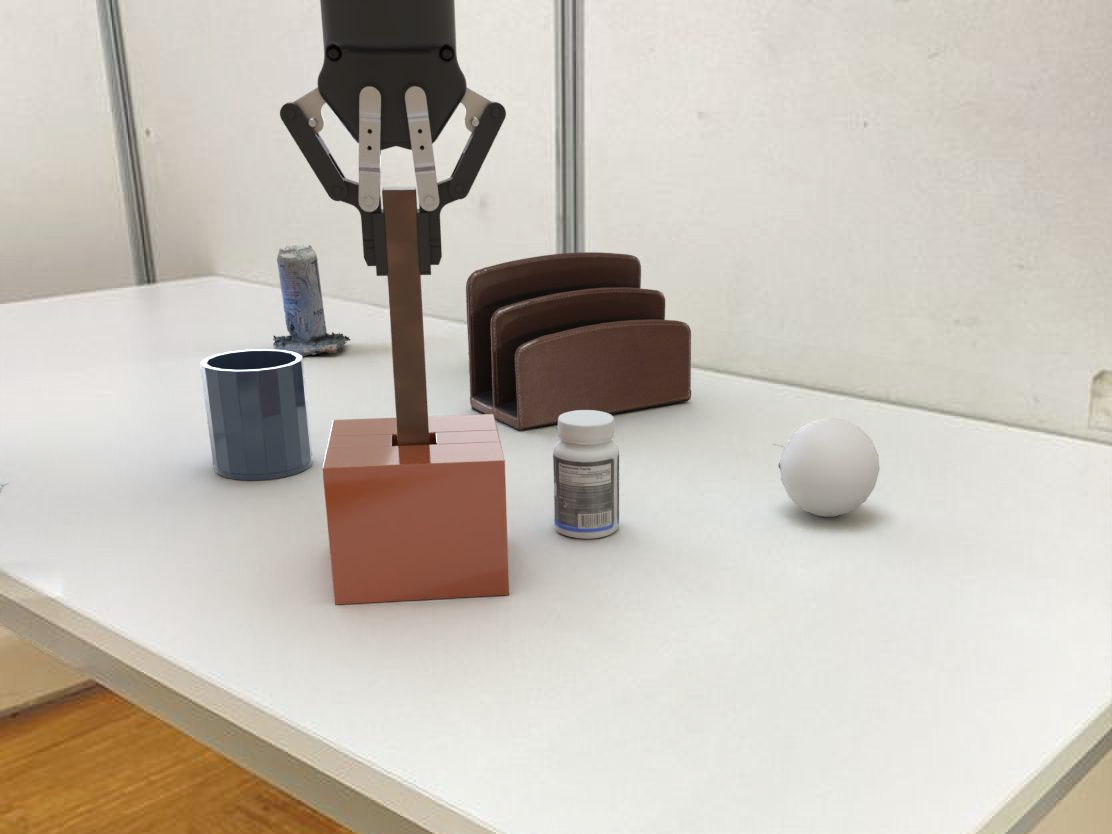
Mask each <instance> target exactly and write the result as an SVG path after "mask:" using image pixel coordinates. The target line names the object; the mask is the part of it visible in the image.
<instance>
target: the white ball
mask: <svg viewBox="0 0 1112 834" xmlns="http://www.w3.org/2000/svg"><path fill="white" fill-rule="evenodd" d="M771 445H773V446H777V447H779V448H780V447H781V448H783V449H782V452H781V455H780V460H779V463H778V468H779V474H780V475H779V476H780V481H781V484H782V486H783V488H784V490H785V492H786V494H787V497H788V498H789V499H790V500H791V501H792V502H793V503H794V504H795V505H796V506H797V507H798V508H800V509H801V510H803V511H805V512H807V513H810V514H812V515H814V516H818V517H823V518H824V517H825V518H832V517H837V516H841V515H844V514H848V513H851V512H853V511H854V510H856V509H857V508H859V507H860V506H861V505H862V504H864V503H865V502H866V501H867V500H868V498H869V497H870V496H871V494H872V492H873V491H874V490H875V488H876V485H877V481H878V477H879V473H880V469H881V467H880V459H879V458H880V457H879V453H878V451H877V448H876V446H875V443H874V442H873V440H872V438H871V437H870V436H869V435H868V434H867V433H866V432H865V430H864V429H862V428H861V426H859V425H856V424H855V423H852V422H851V421H849V420H846V419H845V418H844V419H843V418H839V417H822V418H818V419H815V420H812V421H810V422H807V423H805V424H803V425H802V426H801V427H800V428H798V429H797V430H795V432H793V433H792V435H791V436H790V438H789V439H788V441H787V443H786V444H785V446H784V445H780V444H777V443H772V444H771Z"/></svg>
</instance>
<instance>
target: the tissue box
mask: <svg viewBox="0 0 1112 834" xmlns="http://www.w3.org/2000/svg"><path fill="white" fill-rule="evenodd" d="M428 425H429V444H430V445H412V446H398V438H397V422H396V417H379V418H378V417H377V418H374V417H373V418H351V419H348V418H347V419H332V422H331V426H330V431H329V436H328V440H327V445H326V450H325V454H324V459H323V460H324V461H323V464H322V467H321V469H322V479H323V492H324V501H325V512H326V524H327V534H328V535H327V536H328V545H329V555H330V556H329V557H330V565H331V577H332V587H333V588H332V590H333V597H334V598H333V600H334V605H351V604H368V603H369V604H371V603H385V602H387V603H388V602H389V603H390V602H403V601H405V602H406V601H423V600H425V601H426V600H442V599H459V598H460V599H461V598H478V597H497V596H509V595H510V581H509V579H510V578H509V549H508V515H507V513H508V511H507V487H506V486H507V485H506V481H507V480H506V460H505V456H504V452H503V448H502V447H503V446H502V443H501V439H500V435H499V430H498V427H497V421H496V419H495V417H494V414H484V413H482V414H459V415H457V414H455V415H431V416H429V415H428Z"/></svg>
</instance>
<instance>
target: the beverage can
mask: <svg viewBox="0 0 1112 834" xmlns="http://www.w3.org/2000/svg"><path fill="white" fill-rule="evenodd" d="M276 261H277V268H278V269H277V270H278V276H279V283H280V290H281V297H282V305H283V311H284V318H285V326H286V331H287V332H288V333H289V335H281V336H276V335H272V336H273V338H272V340H273V341H274V342H273V343H272V346H273V347H274V350H285V351H290V352H295V353H298V354H299V355H301V356H302V357H303V358H305V357H307V356H310V355H312V356H315V355H316V354H319V353H320V354H322V353H324V352H325V353H328V354H334V353H335V354H336V353H337V354H338V351H340V348H341V347H345V346H346V345H347V343H348V342H350V341H351V338H350V336H347V335H344V334H343V333H341V332H339V333H334V332H333V331H332V332H331V334H330V333H328V331H327V325H326V318H325V316H326V315H325V310H324V302H323V293H322V286H321V278H320V271H319V263H318V256H317V253H316V251H315V250H314V249H313V246H312V245H309V244H308V246H307V245H304V244H302V245H292V246H290V245H289V246H288V245H287V246H286V247H284V248H281V247H280V248H279V250H278V254H277V256H276Z"/></svg>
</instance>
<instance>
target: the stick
mask: <svg viewBox="0 0 1112 834" xmlns="http://www.w3.org/2000/svg"><path fill="white" fill-rule="evenodd" d="M417 196H418V195H417V186H382V189H381V200H382V209H383V213H384V219H385V235H386V251H387V267H388V274H387V276H386V277H387V292H388V293H387V294H388V308H389V325H390V340H391V355H392V356H391V357H392V372H393V389H394V400H395V401H394V403H395V418H396V422H397V438H398V446H412V445H430V444H429V425H428V416H429V409H428V389H427V370H426V369H427V368H426V350H425V331H424V313H423V312H424V311H423V294H422V275H421V274H420V268H419V249H418V230H417V209H418V199H417Z"/></svg>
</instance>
